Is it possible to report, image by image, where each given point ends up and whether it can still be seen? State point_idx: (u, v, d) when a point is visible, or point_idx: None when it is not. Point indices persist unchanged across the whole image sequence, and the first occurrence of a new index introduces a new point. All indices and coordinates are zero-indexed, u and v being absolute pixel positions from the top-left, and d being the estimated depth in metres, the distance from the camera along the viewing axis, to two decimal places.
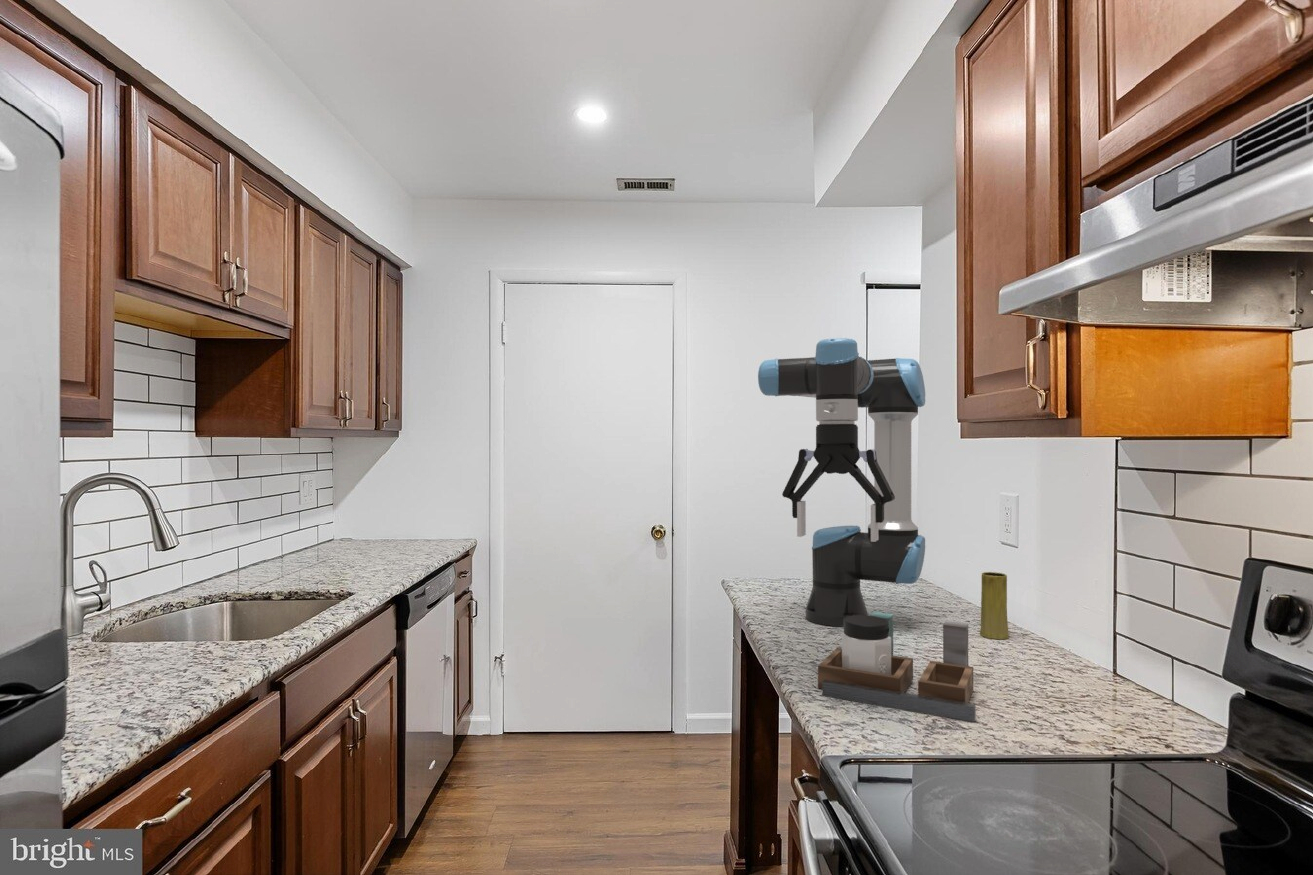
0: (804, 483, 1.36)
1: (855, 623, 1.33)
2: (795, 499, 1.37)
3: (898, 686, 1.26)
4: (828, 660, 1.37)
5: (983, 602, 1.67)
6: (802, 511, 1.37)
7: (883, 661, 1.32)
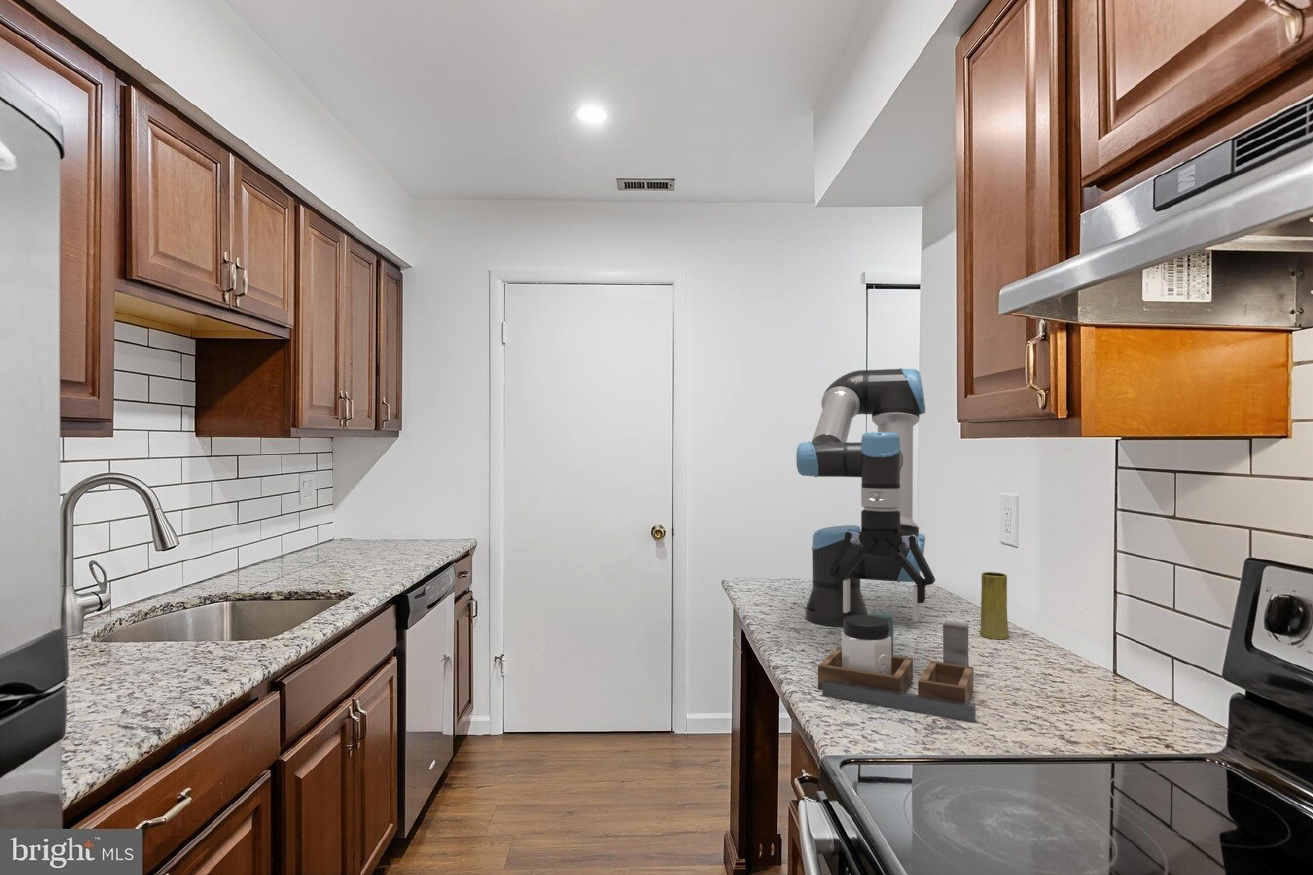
0: (850, 563, 1.48)
1: (855, 623, 1.33)
2: (841, 578, 1.49)
3: (898, 686, 1.26)
4: (828, 660, 1.37)
5: (983, 602, 1.67)
6: (848, 589, 1.49)
7: (883, 661, 1.32)
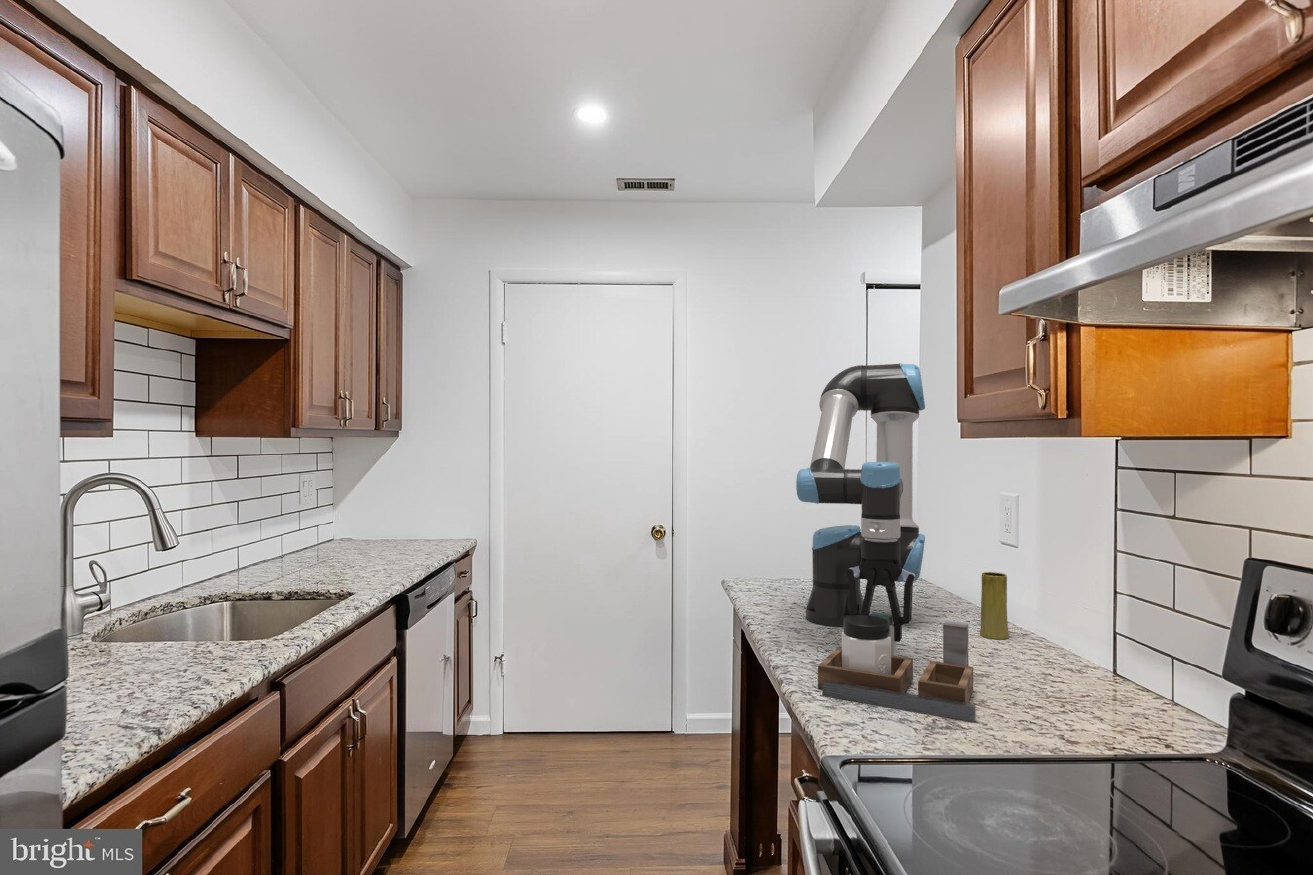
0: (864, 602, 1.47)
1: (855, 623, 1.33)
2: None
3: (898, 686, 1.26)
4: (828, 660, 1.37)
5: (983, 602, 1.67)
6: None
7: (883, 661, 1.32)
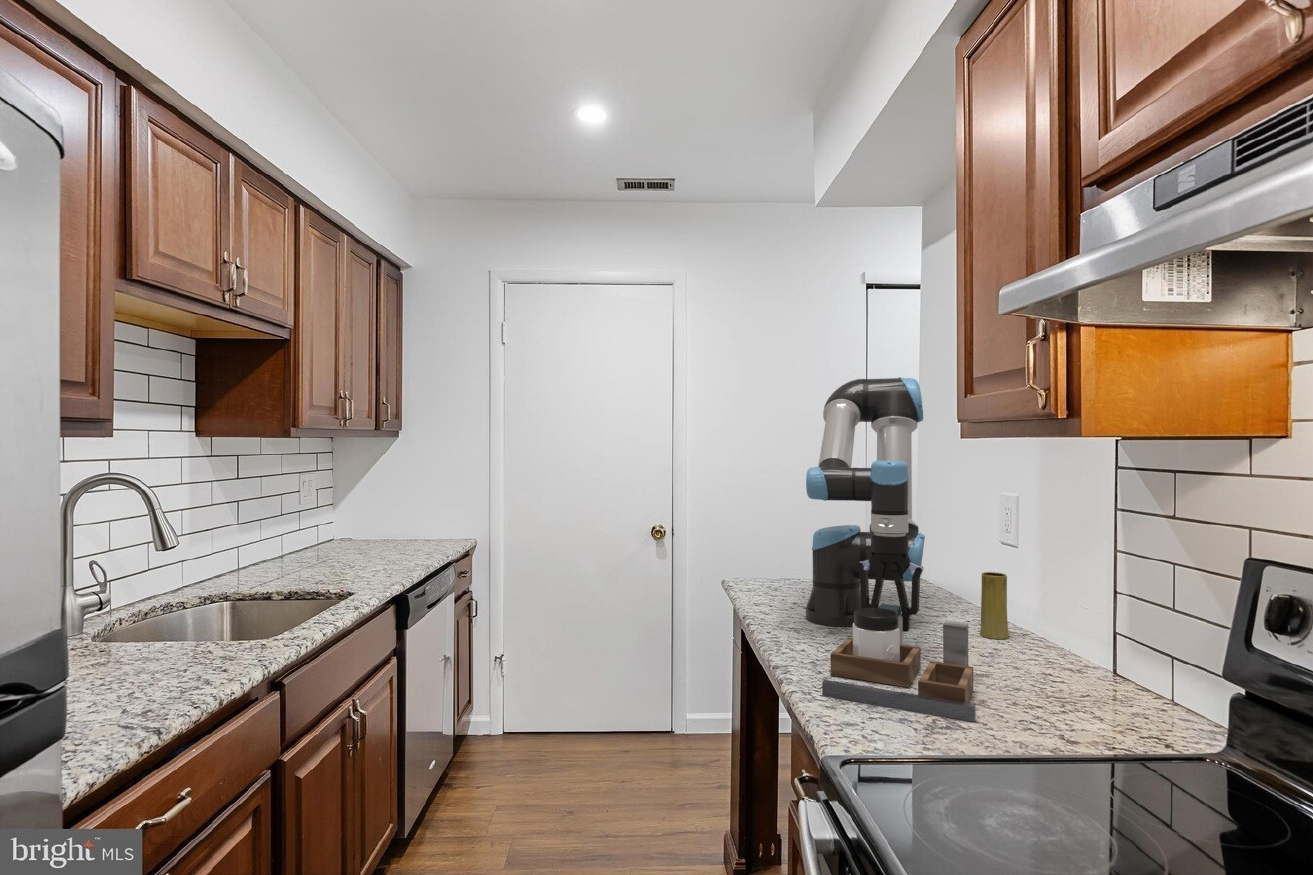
0: (874, 594, 1.54)
1: (864, 615, 1.39)
2: None
3: (907, 672, 1.34)
4: (840, 649, 1.44)
5: (983, 602, 1.67)
6: None
7: (891, 651, 1.38)
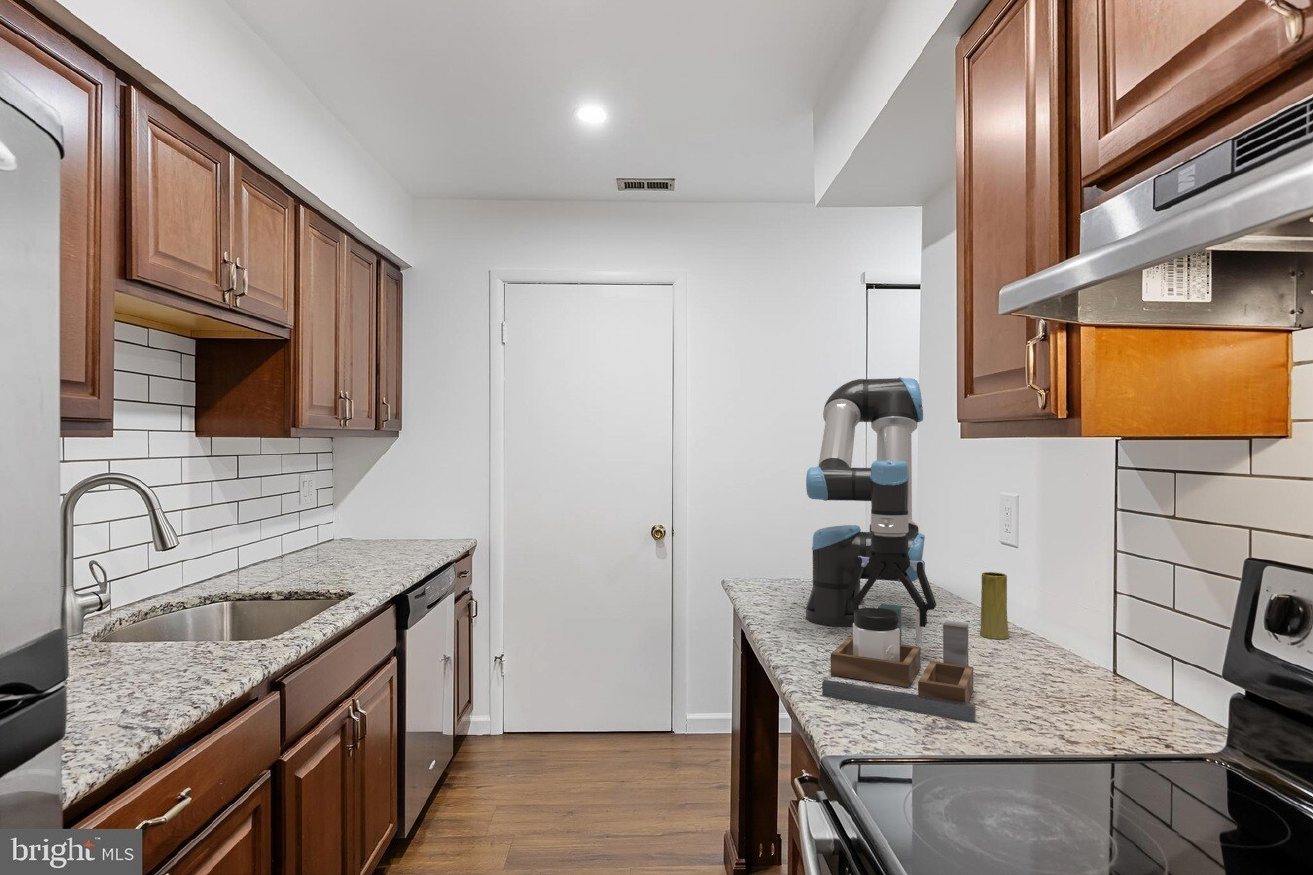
0: (863, 588, 1.55)
1: (864, 615, 1.39)
2: (857, 603, 1.56)
3: (907, 672, 1.34)
4: (840, 649, 1.44)
5: (983, 602, 1.67)
6: None
7: (891, 651, 1.38)
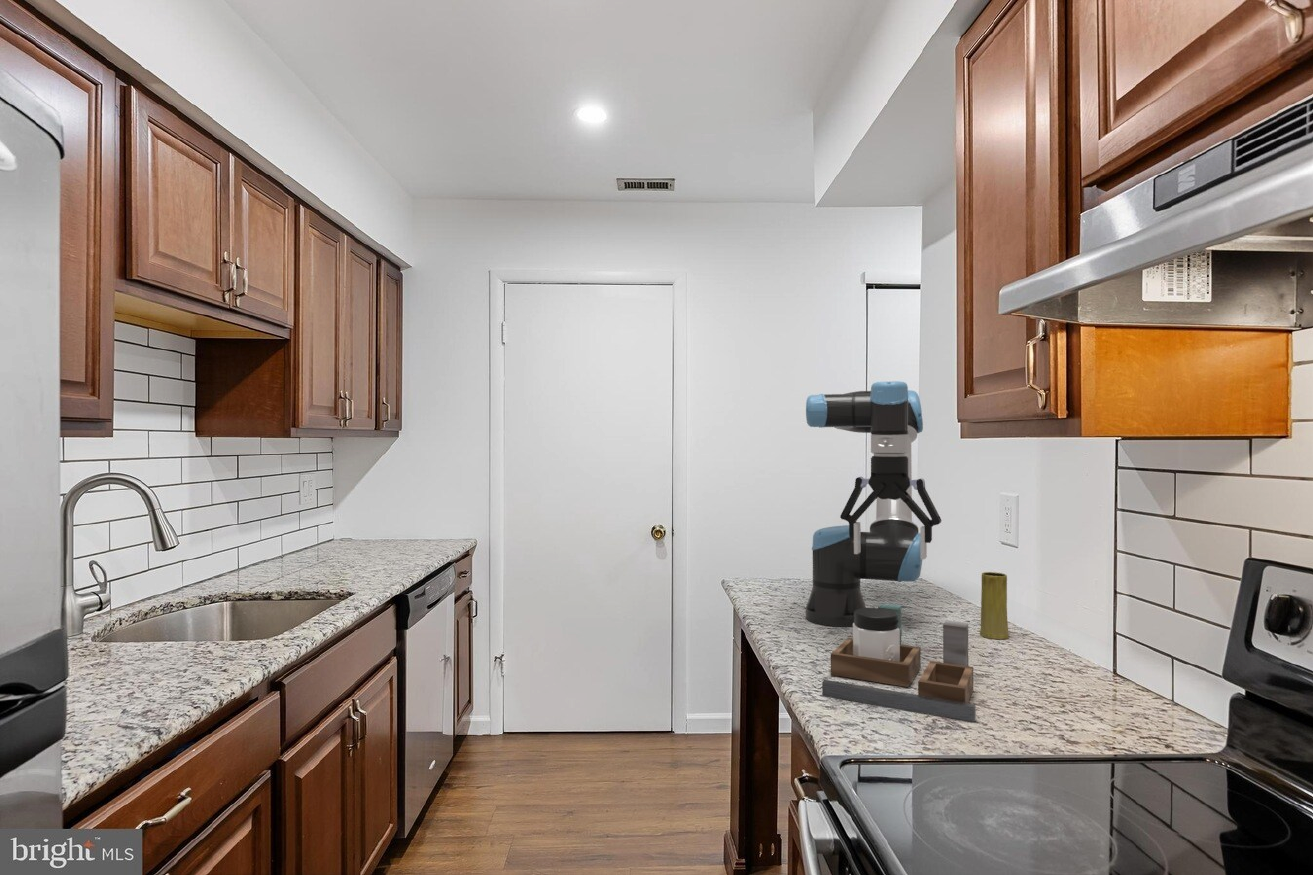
0: (860, 507, 1.56)
1: (864, 615, 1.39)
2: (852, 521, 1.56)
3: (907, 672, 1.34)
4: (840, 649, 1.44)
5: (983, 602, 1.67)
6: (858, 531, 1.57)
7: (891, 651, 1.38)
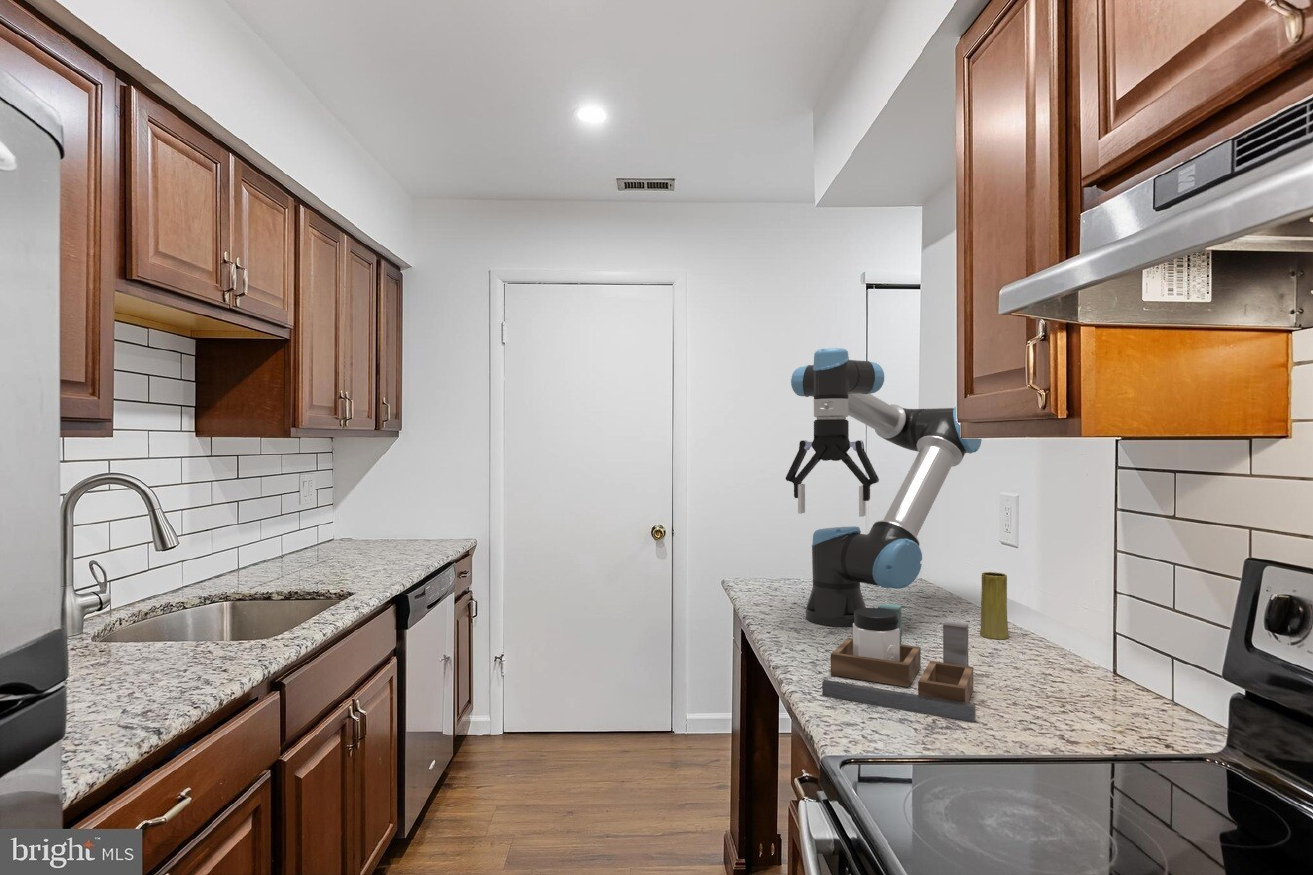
0: (804, 469, 1.63)
1: (864, 615, 1.39)
2: (796, 482, 1.64)
3: (907, 672, 1.34)
4: (840, 649, 1.44)
5: (983, 602, 1.67)
6: (802, 492, 1.65)
7: (891, 651, 1.38)
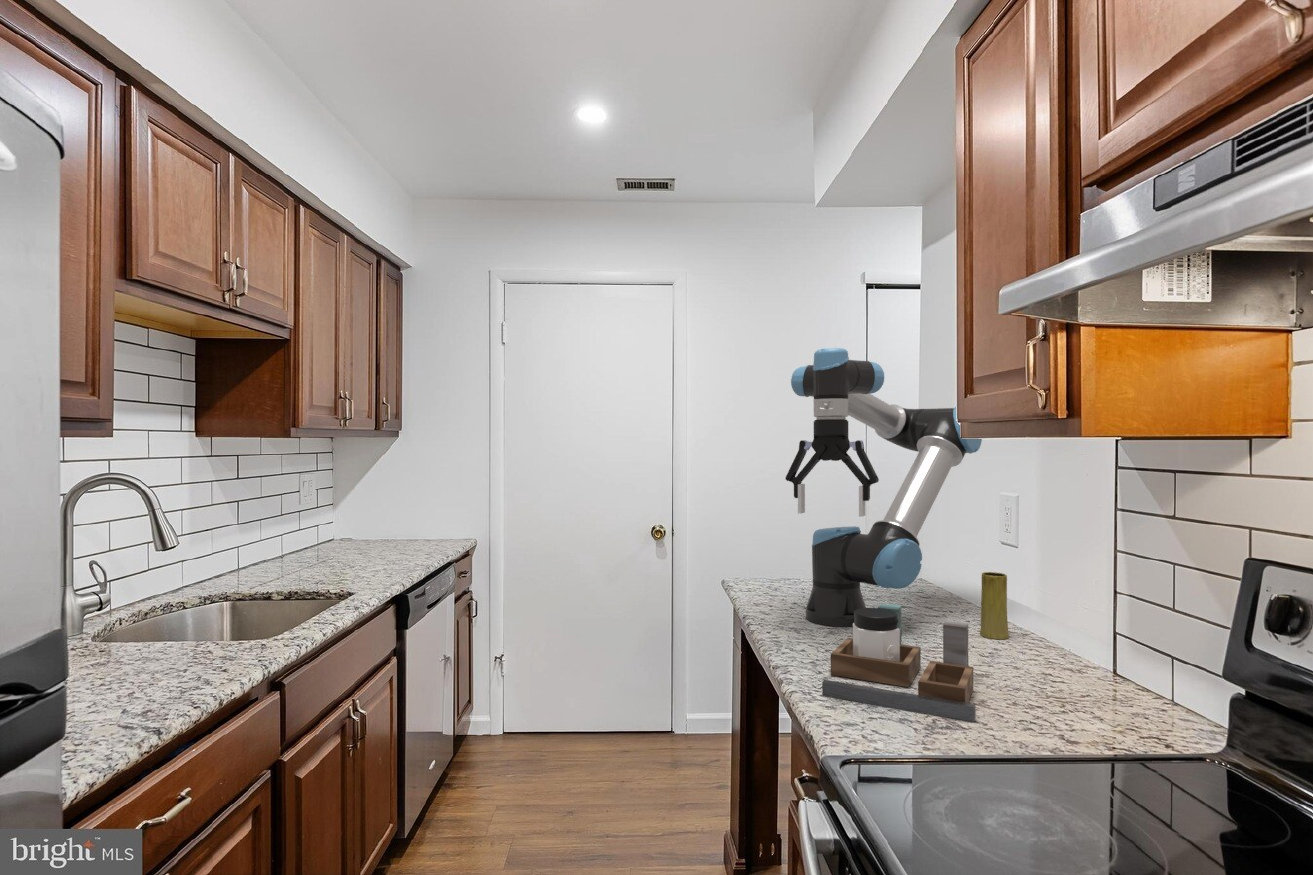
0: (804, 469, 1.64)
1: (864, 615, 1.39)
2: (796, 482, 1.64)
3: (907, 672, 1.34)
4: (840, 649, 1.44)
5: (983, 602, 1.67)
6: (802, 492, 1.65)
7: (891, 651, 1.38)
